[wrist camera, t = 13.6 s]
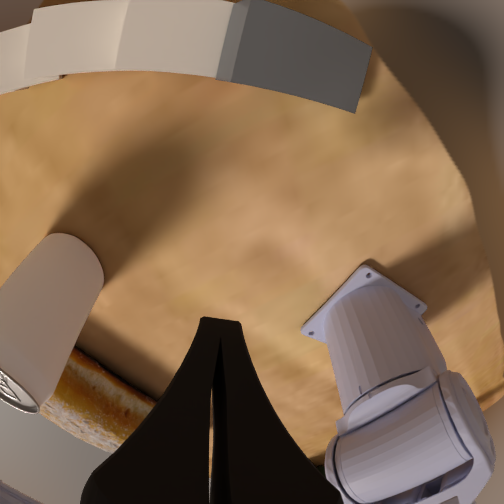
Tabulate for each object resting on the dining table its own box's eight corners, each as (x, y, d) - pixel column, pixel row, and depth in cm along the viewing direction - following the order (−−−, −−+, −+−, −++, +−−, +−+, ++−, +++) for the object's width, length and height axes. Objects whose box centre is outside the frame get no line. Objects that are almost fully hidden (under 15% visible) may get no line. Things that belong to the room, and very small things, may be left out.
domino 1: (62, 16, 9) (-40, 48, 6) (58, 79, 12) (-41, 109, 8) (65, 21, 11) (-29, 49, 8) (62, 78, 13) (-30, 105, 10)
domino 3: (278, 15, 11) (132, -11, 8) (260, 85, 13) (114, 69, 10) (261, 19, 12) (132, -2, 9) (246, 82, 14) (116, 69, 11)
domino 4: (372, 47, 12) (251, -4, 8) (354, 113, 14) (230, 81, 10) (347, 45, 13) (233, 4, 10) (331, 105, 15) (215, 79, 12)
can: (104, 238, 19) (22, 375, 9) (108, 303, 23) (58, 429, 13) (35, 223, 18) (-57, 331, 8) (46, 286, 22) (-15, 393, 12)
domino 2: (165, 0, 10) (34, 9, 7) (151, 70, 12) (23, 80, 9) (160, 8, 11) (43, 14, 9) (149, 70, 14) (34, 78, 11)
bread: (47, 306, 23) (12, 368, 17) (222, 422, 35) (221, 474, 28) (15, 346, 27) (-8, 392, 21) (160, 437, 39) (155, 479, 32)
